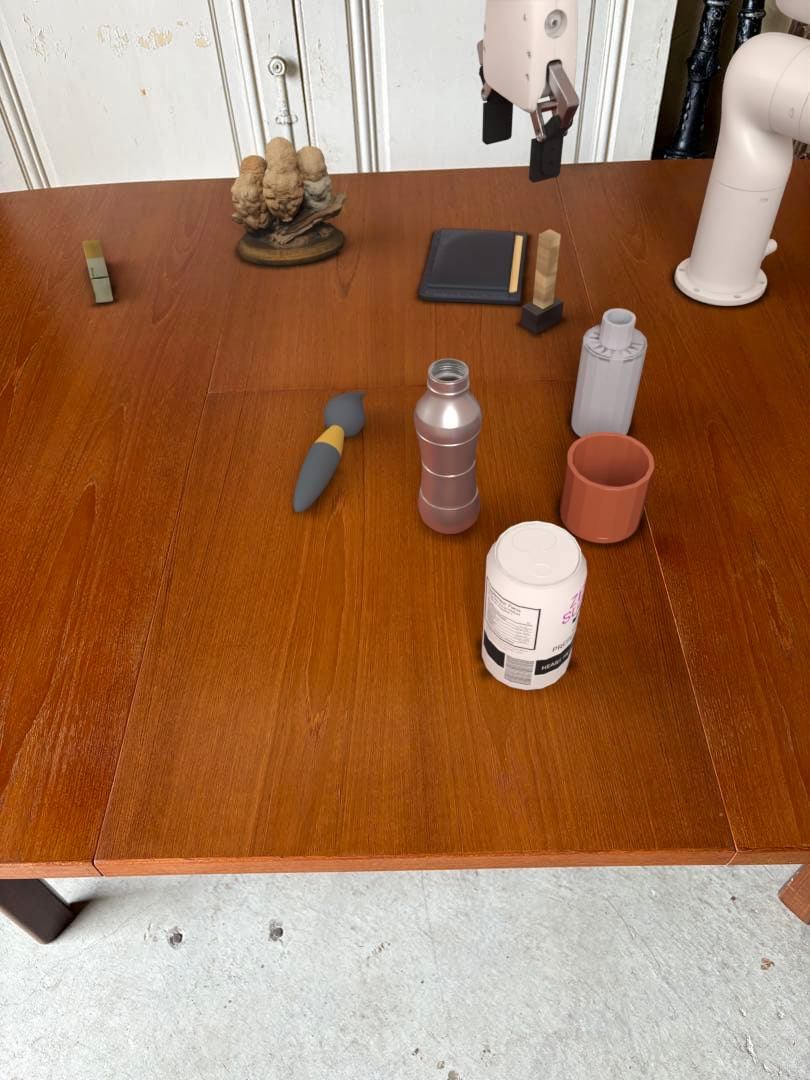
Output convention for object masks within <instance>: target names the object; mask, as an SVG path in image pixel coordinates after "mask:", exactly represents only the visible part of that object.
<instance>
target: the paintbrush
mask: <svg viewBox="0 0 810 1080" xmlns="http://www.w3.org/2000/svg"><path fill="white" fill-rule="evenodd" d="M366 392H367V391H350V392H349V391H348V392H344V393H340V394H338V395H335V396H334V397H333V398H331V399H330V400H329V401H328V402H327V403H326V405H325V407H324V410H323V422H324V426H325V427H326V430H325V431H323V433H322V434H321V435H320V436H319V437H318V438H317V439H316V440H315V441H314V442H313V443H312V445H311V447H309V450H308V452H307V454H306V456H305V458H304V461H303V463H302V465H301V468H300V471H299V474H298V476H297V481H296V484H295V487H294V492H293V498H292V500H293V501H292V505H293V510H294V511H295V513H298V514H299V513H302V512H304V511H306V510H307V509H309V508H310V507H311V506H312V505H313V504H314V503H315V502H316V501H317V499H319V497H320V495H322V493H323V492H324V490H325V489H326V488H327V486H328V484H329V483H330V482H331V479H332V478H333V476H334V475H335V472H336V471H337V469H338V467H339V464H340V462H341V458H342V454H343V450H344V449H343V448H344V441H345V438H352V437H354V436H356V435H357V434H359V432H361V430H363V428H364V426H365V423H366V410H365V406H364V403H363V399H364V397H365V395H366Z"/></svg>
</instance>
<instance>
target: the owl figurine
mask: <svg viewBox="0 0 810 1080" xmlns="http://www.w3.org/2000/svg"><path fill="white" fill-rule="evenodd" d="M264 154H265V156H264V157H263V156H261V155H256V154H255V155H254V154H252V155H251V154H250V155H248V156H246V157H243V158H242V160H241V162H240V168H239V175H238V176H237V177H236V178H235V180H234V184H233V185H232V186H231V188H230V193H231V200H232V203H233V204H232V205H233V207H234V209H235V210H236V212H234V213H232V215H231V219H232V221H233V222H235V223H236V224H238V225H241V226H242V227H243V228H244V230H245V233H243V235H242V237H241V238H240V239H239V241H238V243H237V253H238V255H239V256H240V257H241V258H242V259H243V260H244V261H246V262H248V263H251V264H255V265H263V266H272V267H276V266H277V267H279V266H280V267H281V266H283V267H284V266H285V267H286V266H297V265H305V264H310V263H314V262H317V261H318V262H319V261H321V260H324V259H327V258H329V257H332V256H333V255H335V254H337V253H338V252H339V250H340V249H342V248H343V247H344V242H345V235H344V232H343V231H342V230H341V229H339V228H337V227H336V225H333V224H332V223H331V222H326V221H328V220H329V219H334V218H336V217H338V216H340V214H341V213H342V211H343V205H344V204H345V203H346V202H347V198H348V197H347V195H346V194H345V193H343V192H341V193H339V194H336V195H334V194H332V193H333V186H332V182H333V181H332V179H331V178H330V175H329V172H328V166H327V164H326V161H325V160H326V159H325V156H324V153H323V151H322V149H321V148H319V147H318V146H313V145H312V146H311V145H308V146H307V145H306V146H305V145H304V146H302V147H301V148H300V149H299V150H297V151H296V149H295V148H294V145H293V143H292V142H291V141H290V140H288V139H287V138H285V137H284V136H283V137H282V136H276V137H274V138H271V139H270V141H268V142H267V144H266V146H265V153H264Z"/></svg>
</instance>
